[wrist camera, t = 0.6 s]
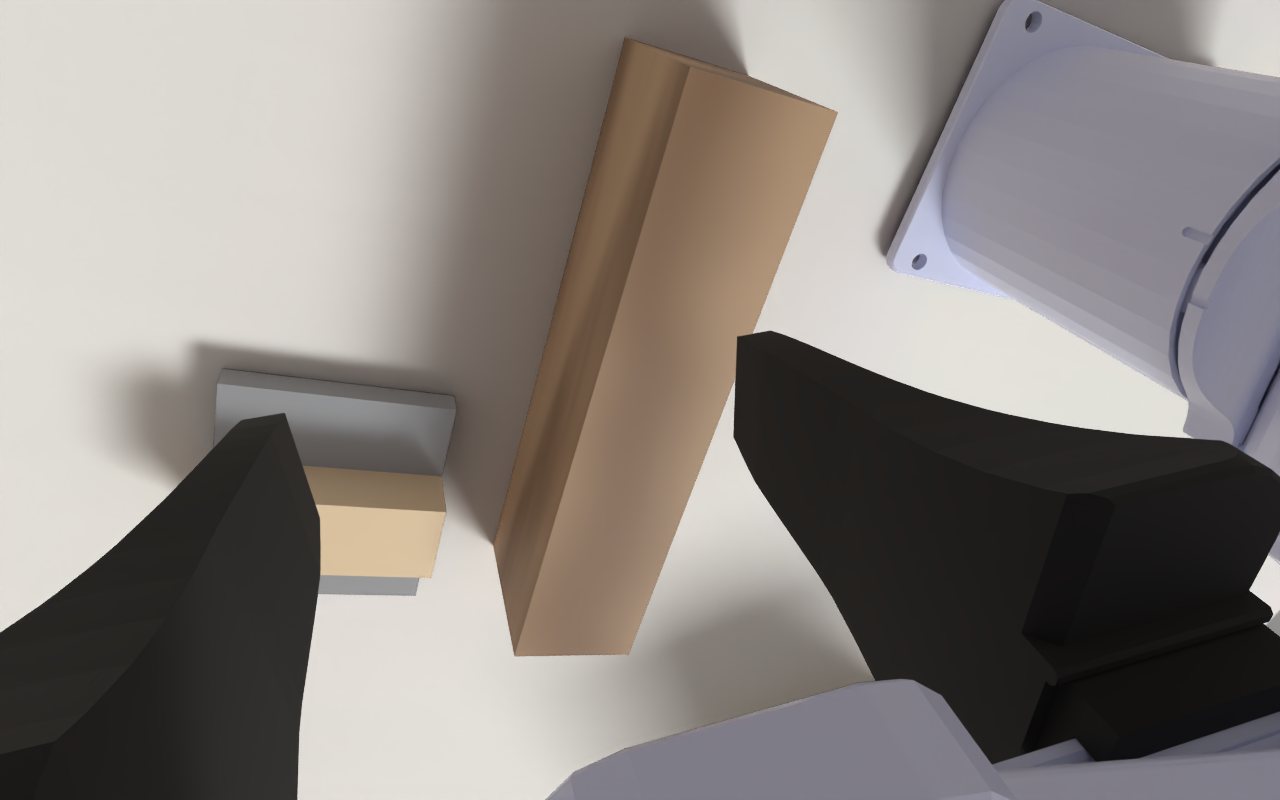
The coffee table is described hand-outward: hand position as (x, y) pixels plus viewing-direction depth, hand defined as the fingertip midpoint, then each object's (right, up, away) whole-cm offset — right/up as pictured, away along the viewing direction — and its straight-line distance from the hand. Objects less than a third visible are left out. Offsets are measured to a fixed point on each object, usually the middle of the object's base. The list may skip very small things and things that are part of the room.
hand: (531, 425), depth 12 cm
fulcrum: (-7, -2, +10) cm, 13 cm away
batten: (+1, +2, +11) cm, 11 cm away
